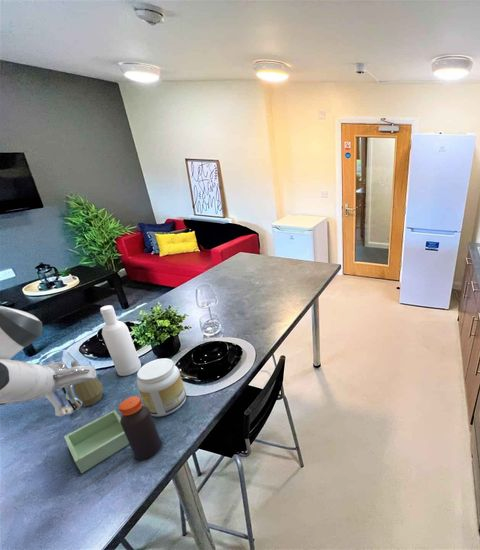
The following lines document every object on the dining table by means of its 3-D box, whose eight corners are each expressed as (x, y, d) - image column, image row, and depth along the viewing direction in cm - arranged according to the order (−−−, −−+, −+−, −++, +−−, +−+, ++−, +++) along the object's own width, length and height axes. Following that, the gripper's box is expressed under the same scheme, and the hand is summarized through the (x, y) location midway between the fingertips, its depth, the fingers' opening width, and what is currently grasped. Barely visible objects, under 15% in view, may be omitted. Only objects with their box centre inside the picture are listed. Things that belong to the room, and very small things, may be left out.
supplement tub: (190, 388, 112) (180, 353, 105) (182, 413, 102) (171, 376, 95) (153, 395, 109) (140, 359, 102) (141, 422, 98) (127, 384, 91)
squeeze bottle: (102, 388, 111) (85, 350, 103) (109, 398, 106) (92, 360, 99) (73, 401, 105) (53, 362, 97) (80, 413, 100) (59, 373, 93)
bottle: (144, 368, 121) (122, 307, 108) (120, 379, 115) (95, 315, 103) (137, 360, 125) (116, 300, 113) (115, 369, 119) (89, 307, 107)
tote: (81, 473, 83) (74, 462, 81) (70, 447, 89) (63, 436, 87) (133, 441, 92) (129, 430, 90) (120, 420, 99) (115, 409, 97)
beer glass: (84, 395, 91) (65, 357, 85) (85, 408, 87) (66, 370, 81) (52, 407, 87) (30, 369, 81) (52, 422, 82) (29, 382, 76)
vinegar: (138, 443, 91) (118, 397, 83) (163, 436, 94) (146, 390, 86) (132, 463, 86) (110, 416, 77) (159, 455, 88) (141, 408, 80)
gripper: (83, 357, 78) (103, 363, 90) (-31, 384, 68) (8, 387, 80) (85, 380, 76) (105, 384, 88) (-32, 411, 67) (8, 410, 78)
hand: (58, 385), depth 84 cm, fingers closed on beer glass, 7 cm apart
